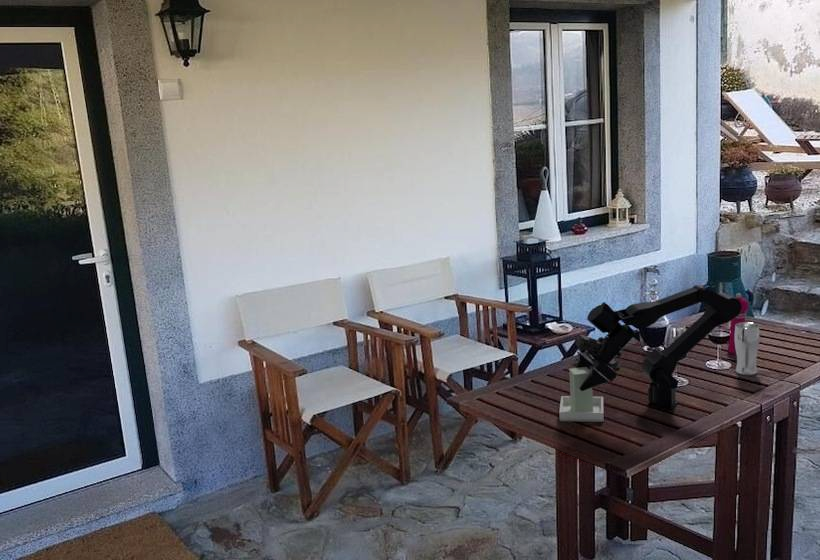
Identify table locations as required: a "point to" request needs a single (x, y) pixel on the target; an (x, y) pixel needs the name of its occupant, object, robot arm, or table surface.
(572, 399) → the handle block
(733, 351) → the pepper mill
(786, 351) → the table surface
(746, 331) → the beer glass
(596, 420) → the tray
